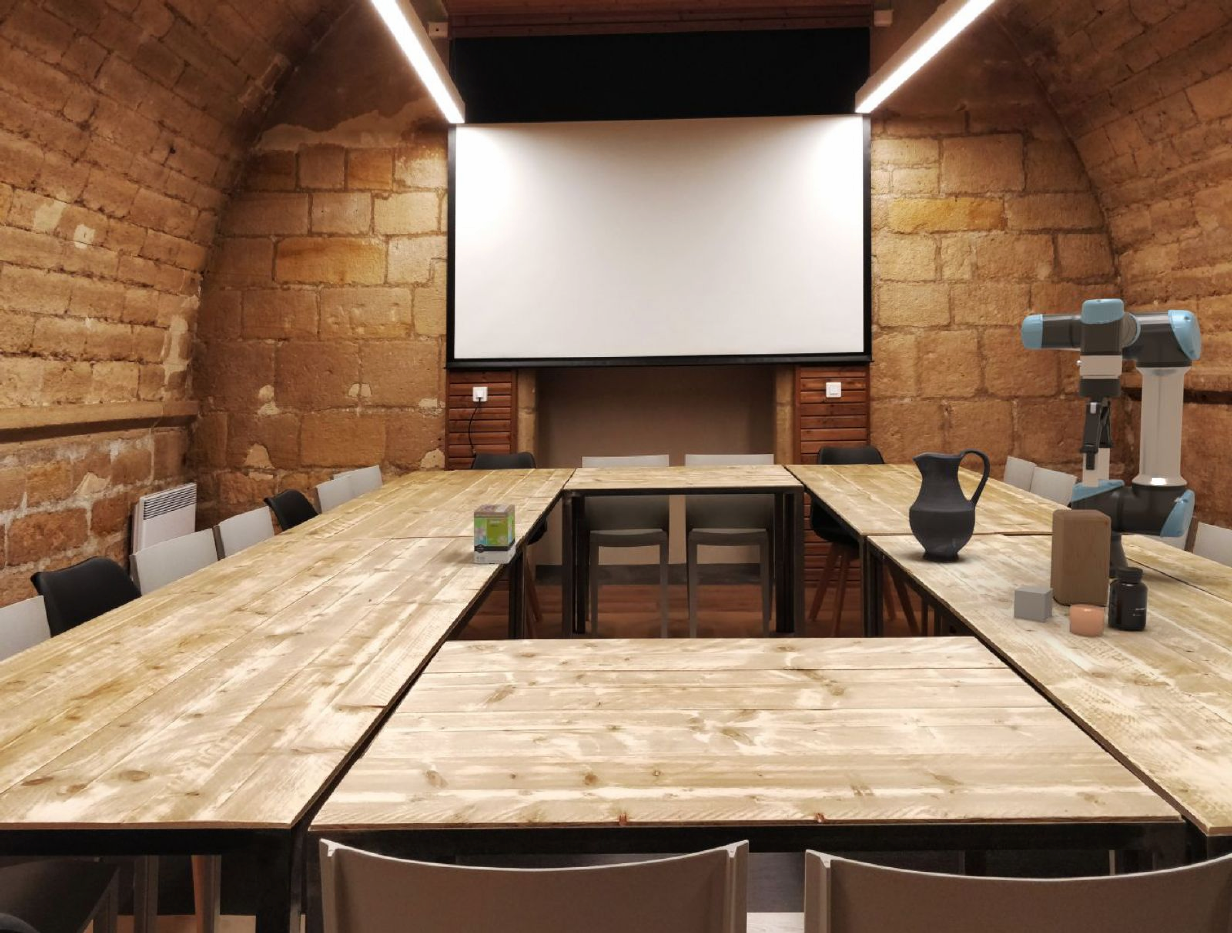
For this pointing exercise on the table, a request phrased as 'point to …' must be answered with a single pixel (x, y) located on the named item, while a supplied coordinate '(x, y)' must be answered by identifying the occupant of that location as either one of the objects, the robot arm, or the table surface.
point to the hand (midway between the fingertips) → (1095, 483)
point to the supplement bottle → (1128, 600)
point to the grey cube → (1033, 603)
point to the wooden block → (1080, 557)
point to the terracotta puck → (1086, 620)
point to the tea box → (494, 534)
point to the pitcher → (944, 505)
